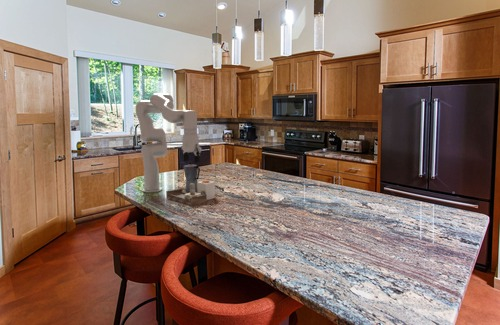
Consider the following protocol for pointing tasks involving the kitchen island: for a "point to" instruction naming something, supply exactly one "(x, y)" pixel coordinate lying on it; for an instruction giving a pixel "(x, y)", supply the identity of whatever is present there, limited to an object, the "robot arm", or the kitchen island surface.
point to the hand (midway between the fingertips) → (191, 161)
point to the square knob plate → (191, 192)
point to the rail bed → (179, 197)
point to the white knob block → (206, 189)
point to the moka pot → (191, 175)
